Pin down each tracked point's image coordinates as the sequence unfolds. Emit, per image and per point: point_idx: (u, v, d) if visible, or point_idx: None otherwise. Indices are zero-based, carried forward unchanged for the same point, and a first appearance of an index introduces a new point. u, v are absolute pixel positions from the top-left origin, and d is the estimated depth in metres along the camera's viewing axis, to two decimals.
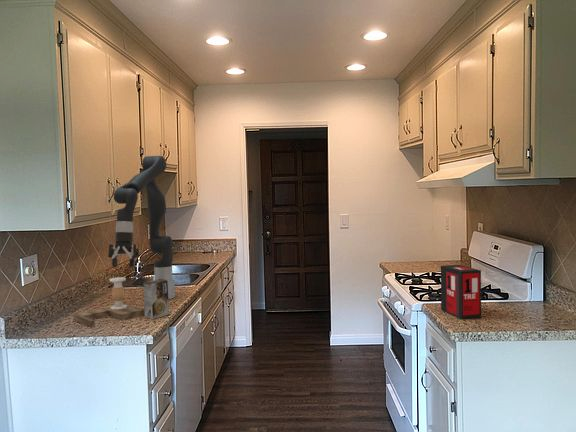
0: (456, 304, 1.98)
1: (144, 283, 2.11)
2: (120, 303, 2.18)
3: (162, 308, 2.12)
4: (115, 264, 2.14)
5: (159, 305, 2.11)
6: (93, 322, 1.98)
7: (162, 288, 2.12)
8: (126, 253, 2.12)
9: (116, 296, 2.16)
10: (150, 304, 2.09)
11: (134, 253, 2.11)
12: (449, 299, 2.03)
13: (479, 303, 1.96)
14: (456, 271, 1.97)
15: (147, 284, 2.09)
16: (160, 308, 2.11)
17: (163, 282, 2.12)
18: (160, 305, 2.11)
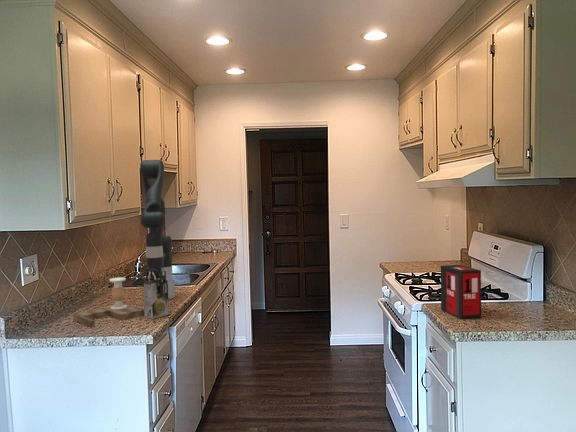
0: (456, 304, 1.98)
1: (144, 283, 2.11)
2: (120, 303, 2.18)
3: (162, 307, 2.12)
4: None
5: (159, 305, 2.11)
6: (93, 322, 1.98)
7: None
8: (154, 279, 2.10)
9: (116, 296, 2.16)
10: (150, 304, 2.09)
11: (160, 280, 2.08)
12: (449, 299, 2.03)
13: (479, 303, 1.96)
14: (456, 271, 1.97)
15: (147, 284, 2.09)
16: (160, 308, 2.11)
17: None
18: (160, 305, 2.11)
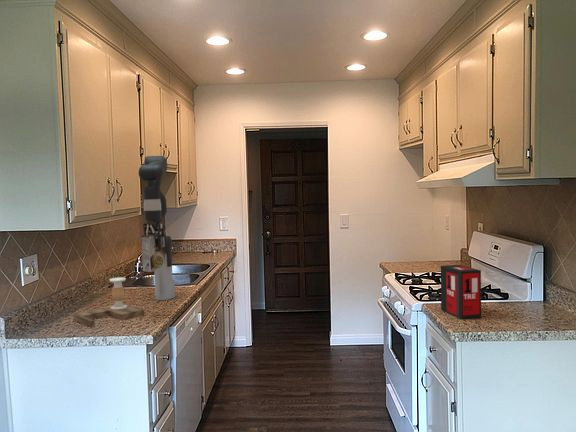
0: (456, 304, 1.98)
1: (142, 236, 2.10)
2: (120, 303, 2.18)
3: (160, 261, 2.11)
4: None
5: (157, 259, 2.10)
6: (93, 322, 1.98)
7: None
8: (152, 232, 2.09)
9: (116, 296, 2.16)
10: (148, 257, 2.08)
11: (158, 233, 2.07)
12: (449, 299, 2.03)
13: (479, 303, 1.96)
14: (456, 271, 1.97)
15: (145, 237, 2.08)
16: (158, 262, 2.10)
17: None
18: (158, 259, 2.10)
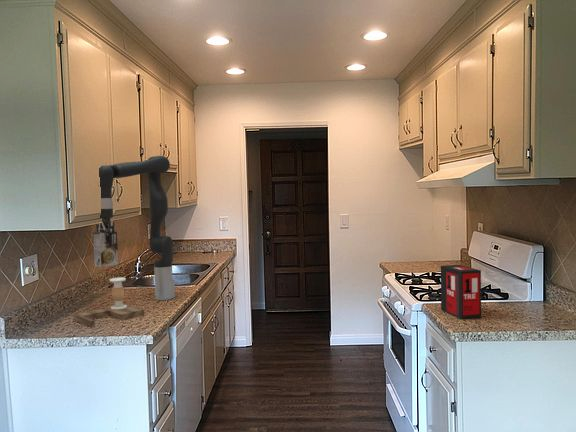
0: (456, 304, 1.98)
1: (94, 233, 2.21)
2: (120, 303, 2.18)
3: (111, 257, 2.22)
4: None
5: (107, 254, 2.21)
6: (93, 322, 1.98)
7: None
8: (104, 229, 2.20)
9: (116, 296, 2.16)
10: (99, 253, 2.19)
11: (108, 230, 2.18)
12: (449, 299, 2.03)
13: (479, 303, 1.96)
14: (456, 271, 1.97)
15: (96, 234, 2.19)
16: (109, 257, 2.21)
17: None
18: (109, 254, 2.21)
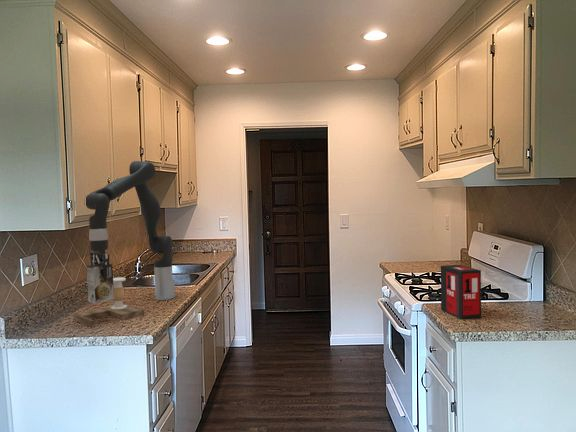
0: (456, 304, 1.98)
1: (87, 267, 2.04)
2: (120, 303, 2.18)
3: (106, 292, 2.05)
4: None
5: (102, 290, 2.04)
6: (93, 322, 1.98)
7: None
8: (98, 262, 2.03)
9: (116, 296, 2.16)
10: (93, 288, 2.02)
11: (103, 263, 2.01)
12: (449, 299, 2.03)
13: (479, 303, 1.96)
14: (456, 271, 1.97)
15: (90, 268, 2.02)
16: (104, 293, 2.04)
17: None
18: (104, 289, 2.04)
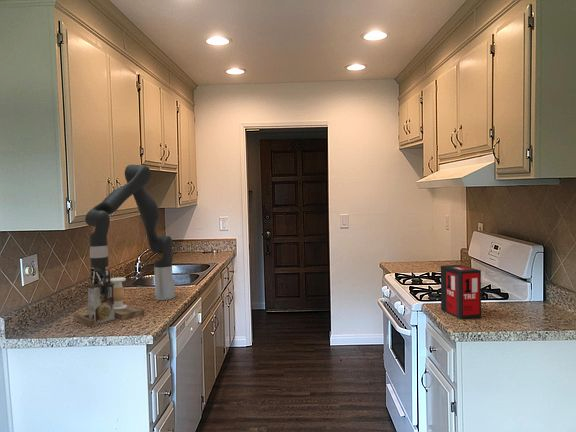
0: (456, 304, 1.98)
1: (88, 287, 2.05)
2: (120, 303, 2.18)
3: (106, 312, 2.06)
4: None
5: (103, 310, 2.04)
6: (93, 322, 1.98)
7: None
8: (99, 279, 2.03)
9: (116, 296, 2.16)
10: (93, 309, 2.03)
11: (104, 280, 2.01)
12: (449, 299, 2.03)
13: (479, 303, 1.96)
14: (456, 271, 1.97)
15: (90, 288, 2.03)
16: (104, 313, 2.05)
17: (108, 286, 2.06)
18: (104, 310, 2.05)
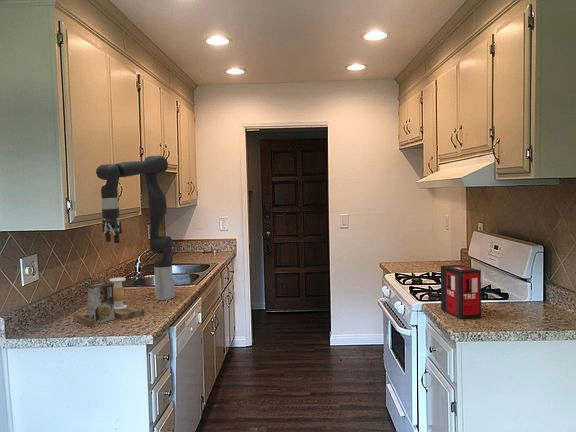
0: (456, 304, 1.98)
1: (88, 287, 2.05)
2: (120, 303, 2.18)
3: (106, 312, 2.06)
4: (108, 239, 2.21)
5: (103, 310, 2.04)
6: (93, 322, 1.98)
7: (107, 292, 2.06)
8: (110, 229, 2.15)
9: (116, 296, 2.16)
10: (93, 309, 2.03)
11: (115, 230, 2.13)
12: (449, 299, 2.03)
13: (479, 303, 1.96)
14: (456, 271, 1.97)
15: (90, 288, 2.03)
16: (104, 313, 2.05)
17: (108, 286, 2.06)
18: (104, 310, 2.05)
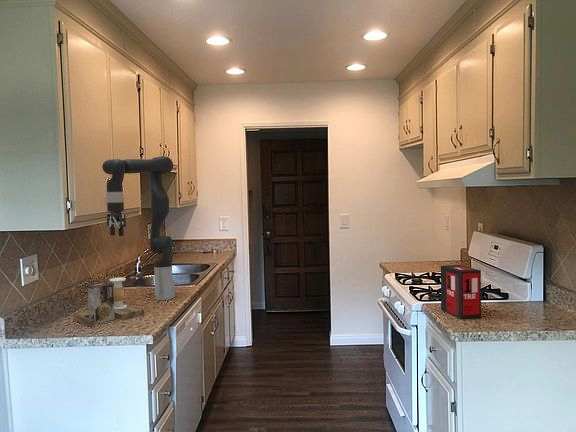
0: (456, 304, 1.98)
1: (88, 287, 2.05)
2: (120, 303, 2.18)
3: (106, 312, 2.06)
4: (112, 232, 2.26)
5: (103, 310, 2.04)
6: (93, 322, 1.98)
7: (107, 292, 2.06)
8: (115, 222, 2.20)
9: (116, 296, 2.16)
10: (93, 309, 2.03)
11: (120, 223, 2.18)
12: (449, 299, 2.03)
13: (479, 303, 1.96)
14: (456, 271, 1.97)
15: (90, 288, 2.03)
16: (104, 313, 2.05)
17: (108, 286, 2.06)
18: (104, 310, 2.05)
